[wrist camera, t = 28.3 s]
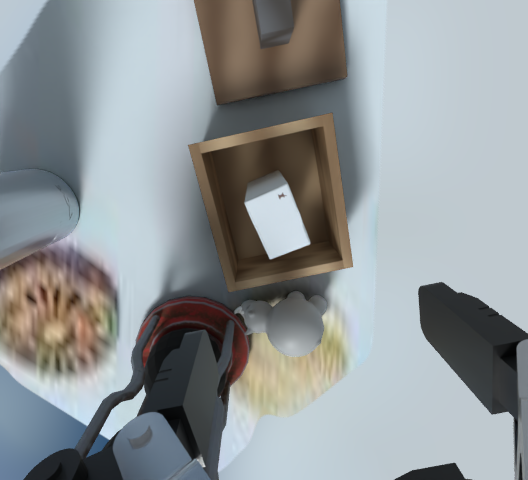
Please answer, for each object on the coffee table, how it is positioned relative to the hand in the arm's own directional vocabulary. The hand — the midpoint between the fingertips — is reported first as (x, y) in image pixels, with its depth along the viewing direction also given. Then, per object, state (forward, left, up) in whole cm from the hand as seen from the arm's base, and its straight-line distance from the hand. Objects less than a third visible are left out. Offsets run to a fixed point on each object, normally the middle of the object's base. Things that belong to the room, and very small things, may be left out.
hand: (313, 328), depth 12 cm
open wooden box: (0, 0, -29) cm, 29 cm away
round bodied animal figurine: (-2, -15, -30) cm, 33 cm away
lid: (+3, +20, -29) cm, 35 cm away
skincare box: (0, 0, -29) cm, 29 cm away
